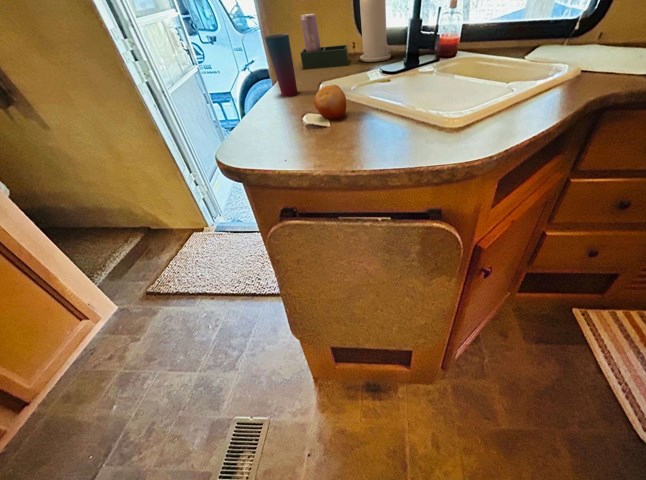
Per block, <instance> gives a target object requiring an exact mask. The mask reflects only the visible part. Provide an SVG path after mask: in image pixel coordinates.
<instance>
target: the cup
mask: <svg viewBox="0 0 646 480" xmlns="http://www.w3.org/2000/svg"><path fill="white" fill-rule="evenodd" d="M264 40H265V44H266V47H267V50H268V53H269V57H270V60H271V63H272V66H273V70H274V73H275V78H276V80H277V83H278V87H279V90H280V94H281V96H282V97H285V98H286V97H295V96H296V95H298V87H297V86H298V85H297V80H296V73H295V67H294V60H293V55H292V48H291V42H290V35H289V33H285V32H284V33H273V34H268V35H265V36H264Z"/></svg>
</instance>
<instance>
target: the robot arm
mask: <svg viewBox="0 0 646 480" xmlns="http://www.w3.org/2000/svg"><path fill="white" fill-rule="evenodd" d="M386 3H387V2H386V0H359V11H360V24H361V37H362V38H361V40H362V51H363V53H362V54H361V55H360V56H359V61H361V62H364V63H375V62H382V61H388V60H390V59H391V58H392V54H391V53H399V46H398V45H389V44H388V42H387V41H388V40H387V12H386V11H387V9H386V7H387V4H386Z"/></svg>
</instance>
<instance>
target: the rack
mask: <svg viewBox="0 0 646 480" xmlns="http://www.w3.org/2000/svg"><path fill="white" fill-rule="evenodd" d="M320 47H321V51H316V52H306V49H305V48H303V49H302V51H300V53H299V54H300V60H301V65H302V69H303V70H310V69H311V70H312V69H313V70H314V69H322V68H323V69H324V68H335V67H347V66H349V61H350V59H349V51H348V50H349V49H348V44H342V45H330V46H329V45H328V46H320Z"/></svg>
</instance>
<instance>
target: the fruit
mask: <svg viewBox="0 0 646 480" xmlns="http://www.w3.org/2000/svg"><path fill="white" fill-rule="evenodd" d="M313 104H314V107H315V109H316V111H317V112H318V113H319V115H320V116H321V117H322V118H323V119H325V120H335V119H336V120H337V119H342V118H343V117H344V116H345V114H346V111H347V97H346V94H345V93H344V90H343V89H342V88H341V87H340V86H338V85H337V84H331V85H325V86H323V87H321V88H320V89H319V90H318V91H317V92H316V94H315V96H314V100H313Z"/></svg>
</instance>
